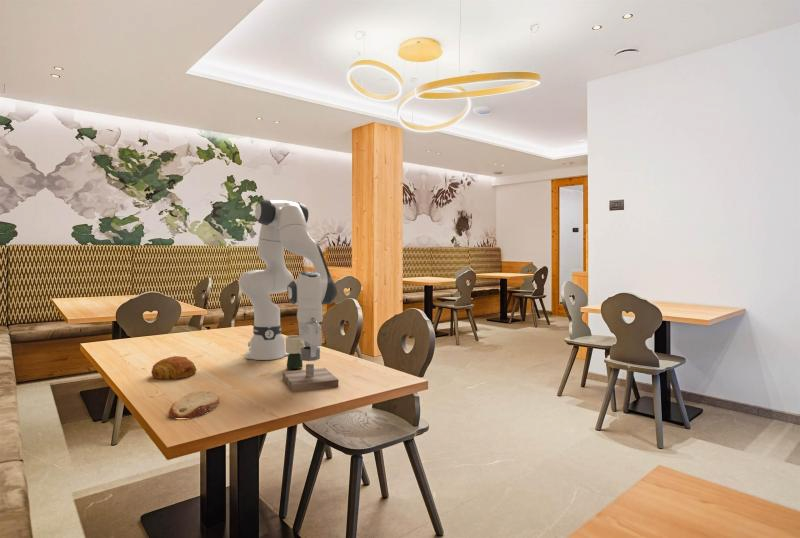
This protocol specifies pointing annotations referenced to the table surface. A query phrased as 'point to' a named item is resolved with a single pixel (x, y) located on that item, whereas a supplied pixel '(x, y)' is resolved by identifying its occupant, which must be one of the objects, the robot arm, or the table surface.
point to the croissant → (173, 368)
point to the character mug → (294, 351)
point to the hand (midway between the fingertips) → (310, 354)
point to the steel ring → (306, 354)
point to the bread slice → (194, 404)
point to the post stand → (310, 379)
